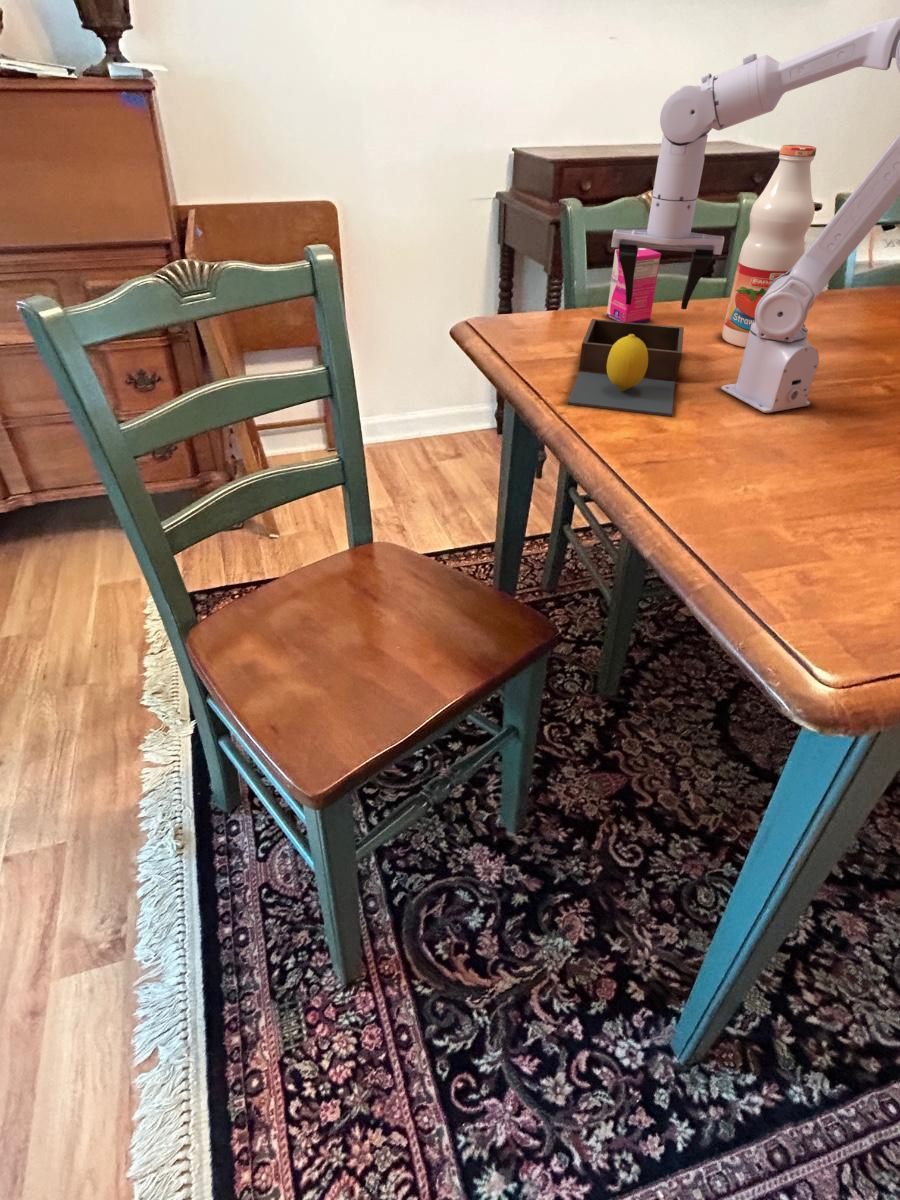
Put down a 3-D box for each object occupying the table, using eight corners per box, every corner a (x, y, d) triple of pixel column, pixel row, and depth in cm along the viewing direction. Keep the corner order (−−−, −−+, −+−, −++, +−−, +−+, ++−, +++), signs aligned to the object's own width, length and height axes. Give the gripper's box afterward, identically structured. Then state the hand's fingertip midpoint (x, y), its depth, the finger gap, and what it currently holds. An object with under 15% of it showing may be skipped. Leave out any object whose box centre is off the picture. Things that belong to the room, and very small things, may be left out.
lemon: (640, 384, 107) (650, 328, 102) (644, 399, 103) (654, 341, 98) (601, 383, 107) (609, 326, 103) (604, 397, 103) (612, 340, 98)
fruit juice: (772, 332, 128) (824, 143, 111) (785, 351, 120) (842, 151, 103) (716, 330, 129) (759, 141, 112) (725, 348, 121) (772, 149, 104)
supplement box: (604, 316, 134) (614, 248, 127) (631, 312, 136) (642, 245, 129) (623, 326, 130) (634, 255, 123) (651, 321, 132) (663, 252, 125)
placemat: (674, 384, 109) (675, 381, 108) (671, 416, 99) (672, 413, 99) (579, 374, 111) (579, 371, 111) (567, 404, 102) (567, 401, 102)
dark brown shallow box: (678, 354, 119) (684, 327, 116) (676, 382, 109) (682, 353, 107) (588, 345, 122) (591, 318, 119) (578, 371, 112) (581, 343, 110)
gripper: (731, 195, 99) (708, 301, 107) (620, 189, 101) (606, 293, 110) (733, 204, 93) (709, 315, 101) (616, 198, 96) (602, 306, 104)
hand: (655, 305), depth 105 cm, fingers open, 7 cm apart
